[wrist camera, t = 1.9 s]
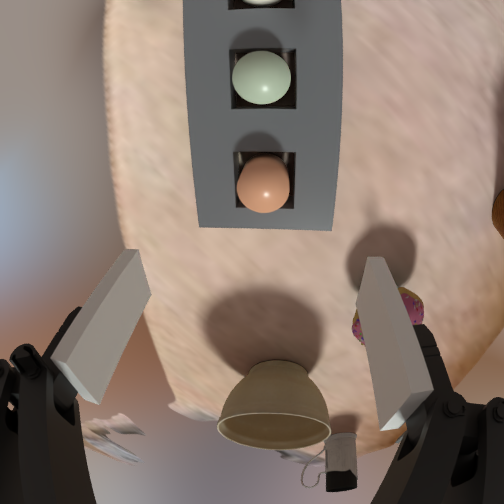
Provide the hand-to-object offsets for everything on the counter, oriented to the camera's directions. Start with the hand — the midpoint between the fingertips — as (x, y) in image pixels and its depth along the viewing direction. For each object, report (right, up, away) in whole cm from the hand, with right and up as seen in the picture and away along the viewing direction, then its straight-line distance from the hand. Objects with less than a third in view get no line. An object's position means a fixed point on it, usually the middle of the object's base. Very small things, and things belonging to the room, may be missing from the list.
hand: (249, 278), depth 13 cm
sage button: (+1, +15, +7) cm, 17 cm away
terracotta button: (+1, +8, +12) cm, 14 cm away
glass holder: (+20, -47, +48) cm, 69 cm away
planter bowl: (+4, -19, +31) cm, 36 cm away
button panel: (+1, +16, +8) cm, 18 cm away
